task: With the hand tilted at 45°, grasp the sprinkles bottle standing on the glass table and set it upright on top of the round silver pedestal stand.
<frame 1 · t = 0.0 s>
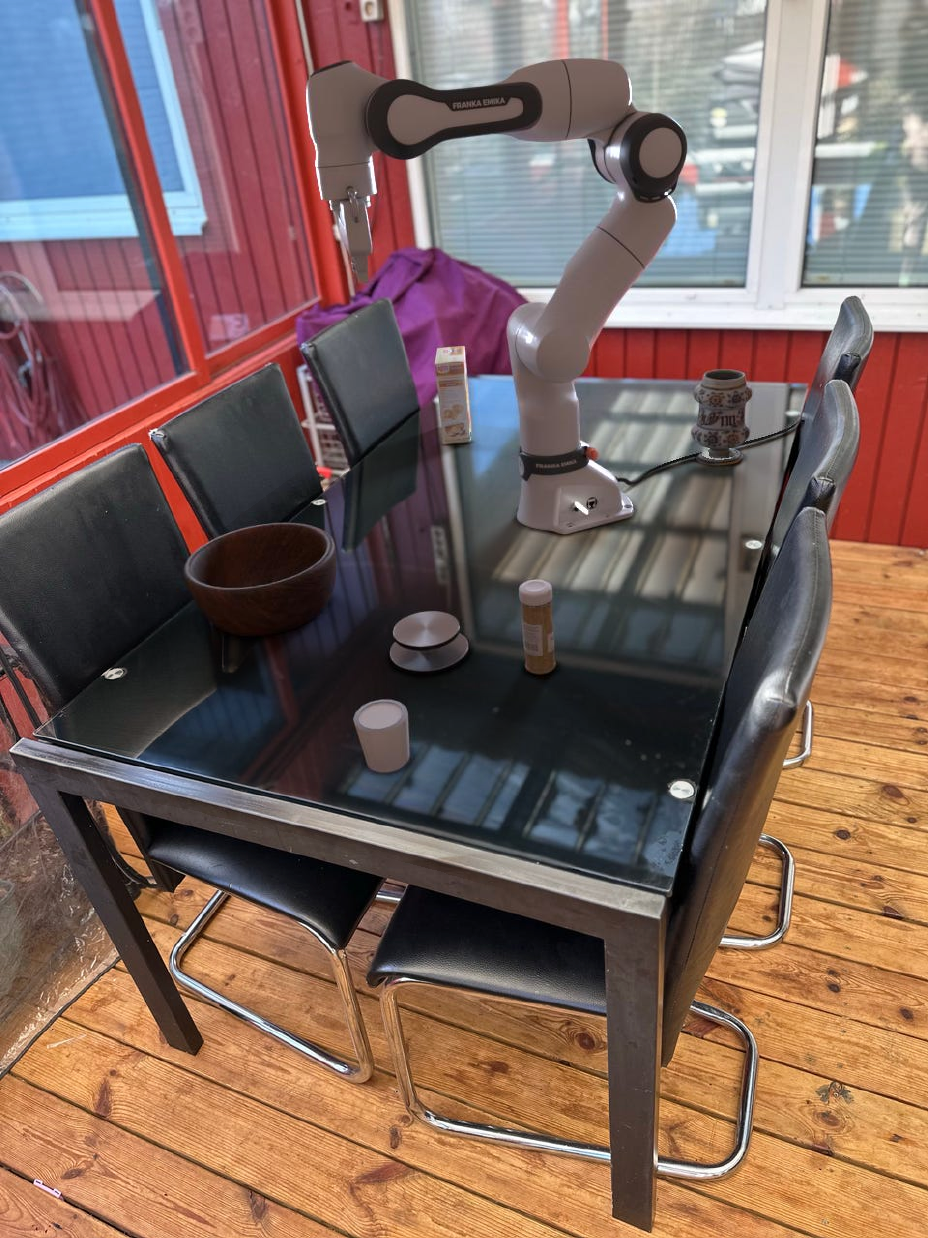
hand: (360, 277, 145), 48 cm above the table, tool pointing down, fingers open, 8 cm apart
stand: (429, 652, 135), on the table
apothecary jar: (718, 458, 191), on the table
sprinkles bottle: (540, 667, 129), on the table
shot glass: (388, 759, 114), on the table
wooden bowl: (272, 608, 152), on the table
coffeecake box: (457, 434, 220), on the table
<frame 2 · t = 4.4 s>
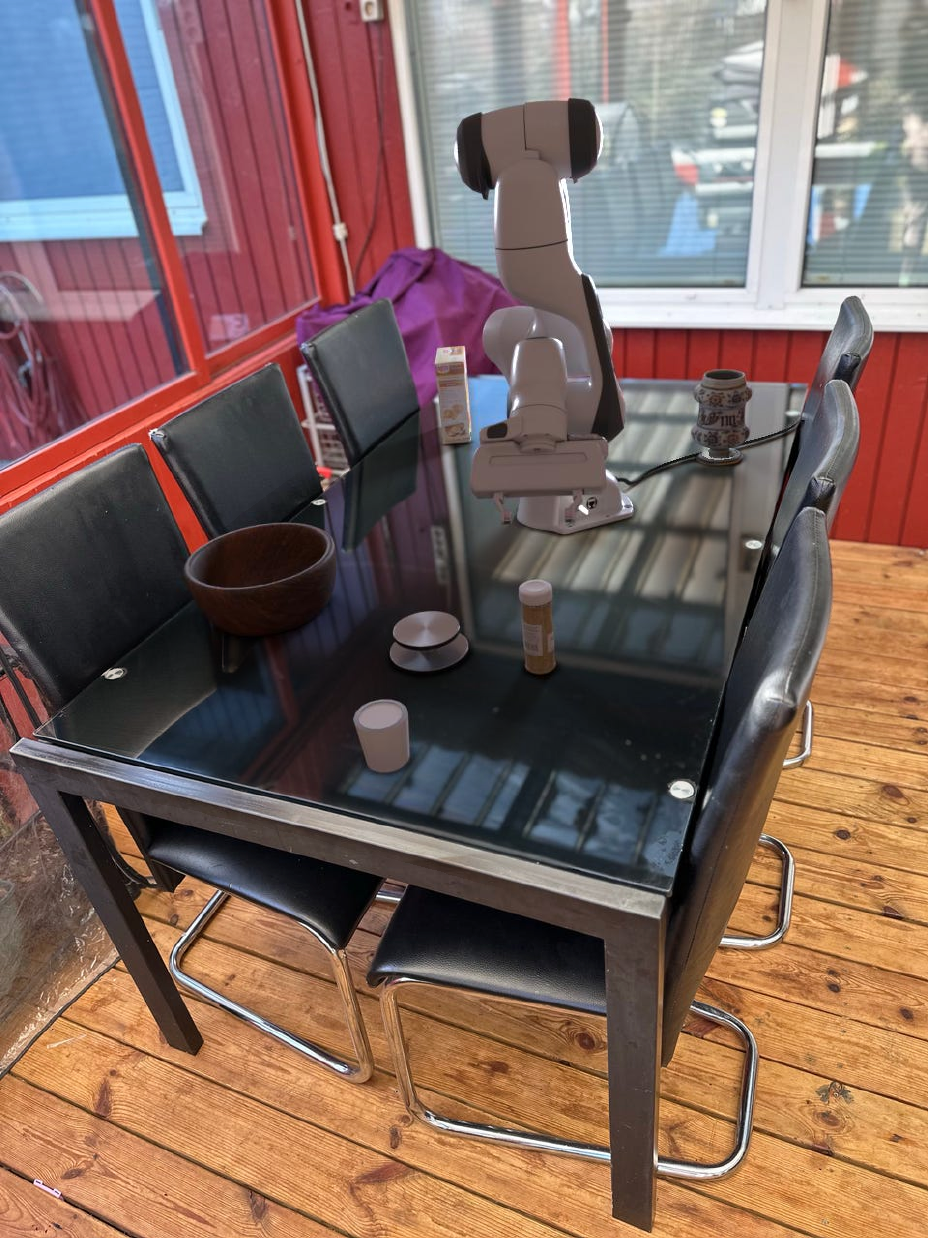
hand: (537, 522, 130), 17 cm above the table, tool tilted 45°, fingers open, 8 cm apart
nothing on the table moved.
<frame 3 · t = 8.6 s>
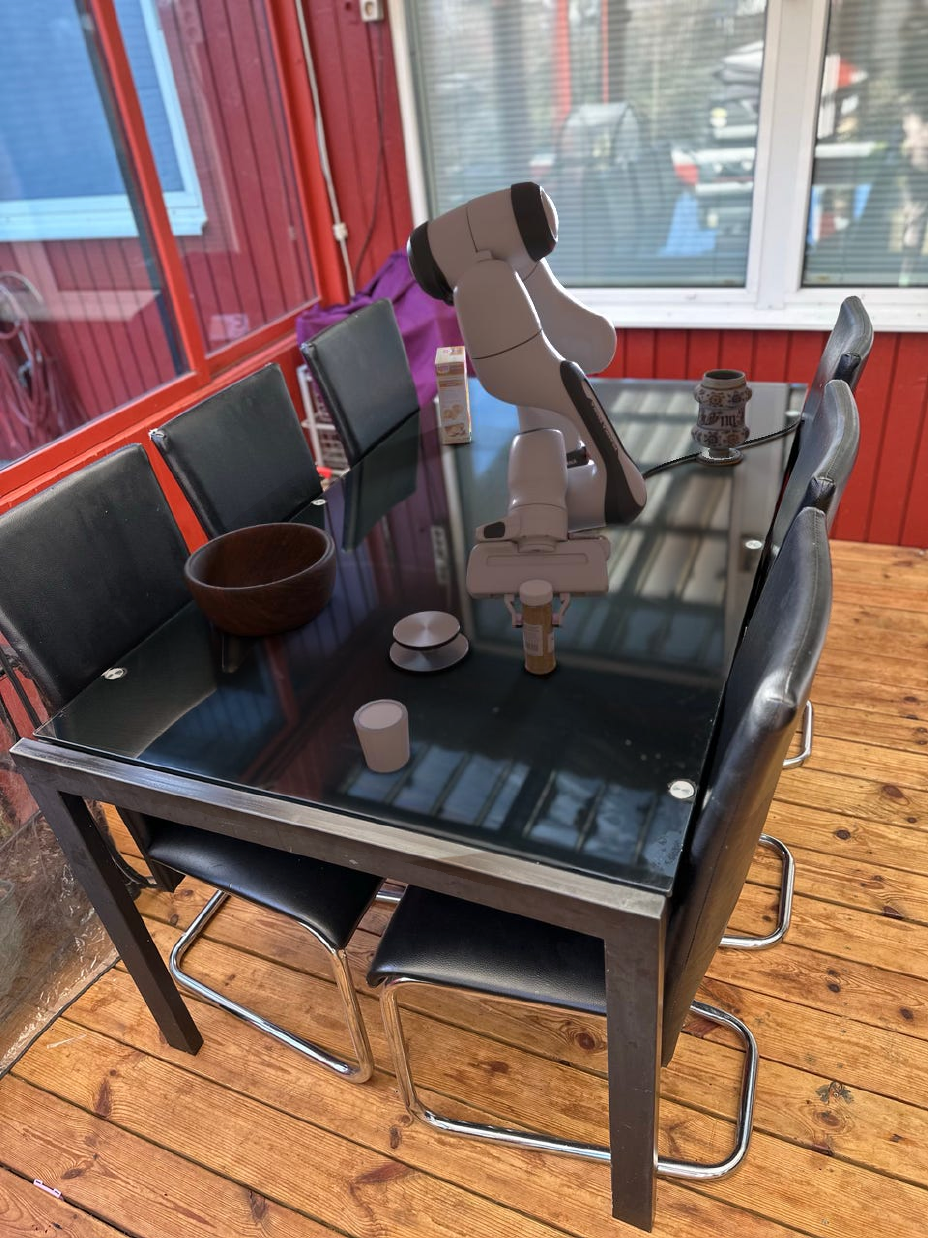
hand: (537, 627, 125), 7 cm above the table, tool tilted 45°, fingers closed on sprinkles bottle, 4 cm apart
sprinkles bottle: (540, 667, 129), on the table, touching gripper
everything else where it was.
when the fingers open (12 cm above the table, at t = 15.6 s): sprinkles bottle stays where it is, resting on stand.
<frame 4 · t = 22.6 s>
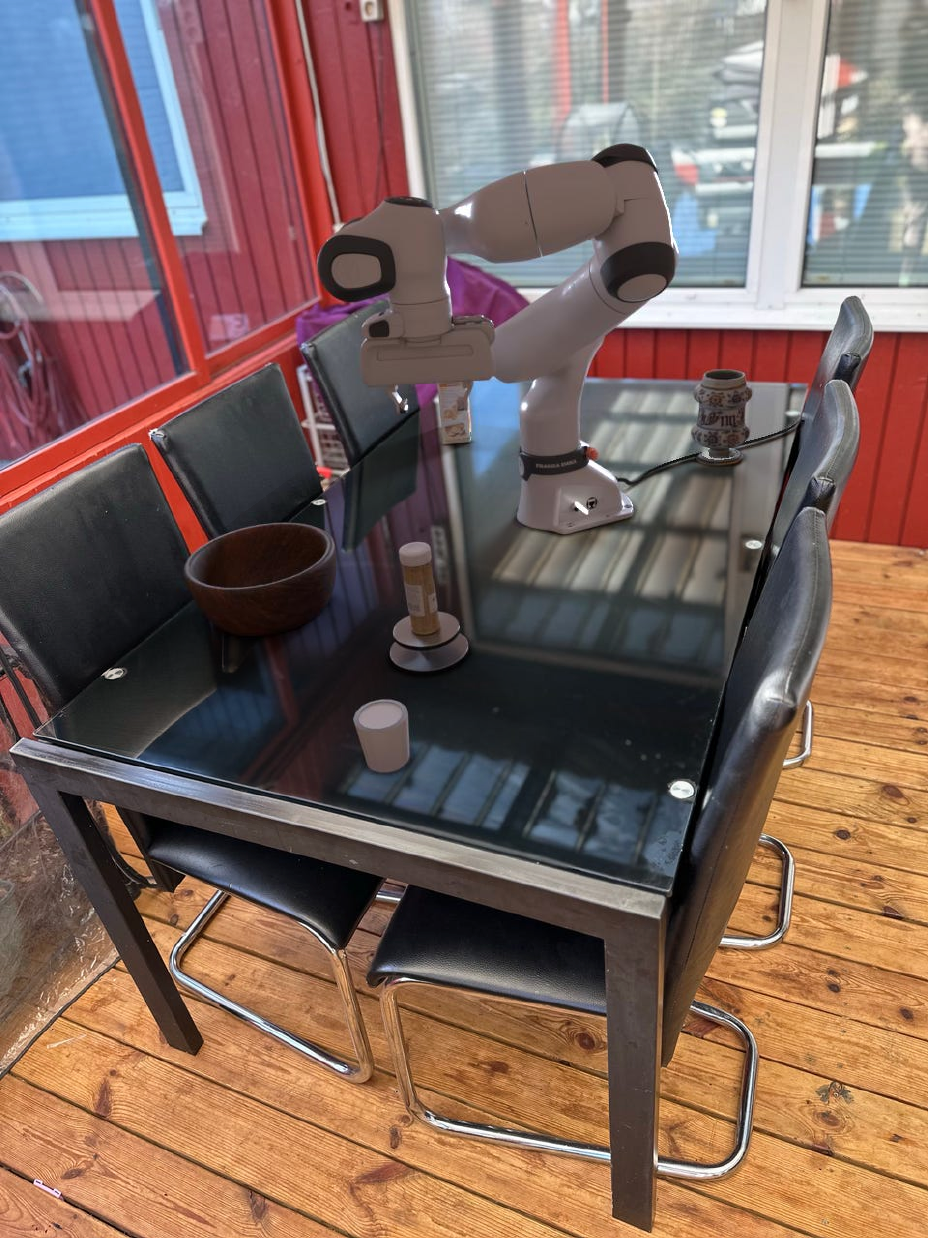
hand: (432, 411, 136), 31 cm above the table, tool pointing down, fingers open, 8 cm apart
sprinkles bottle: (425, 629, 133), point 4 cm above the table, touching stand
everything else where it was.
at the end: sprinkles bottle 0.1 cm off-centre on the stand, point 4.2 cm above the stand's base; sprinkles bottle tilted 0°; the gripper is holding nothing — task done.
